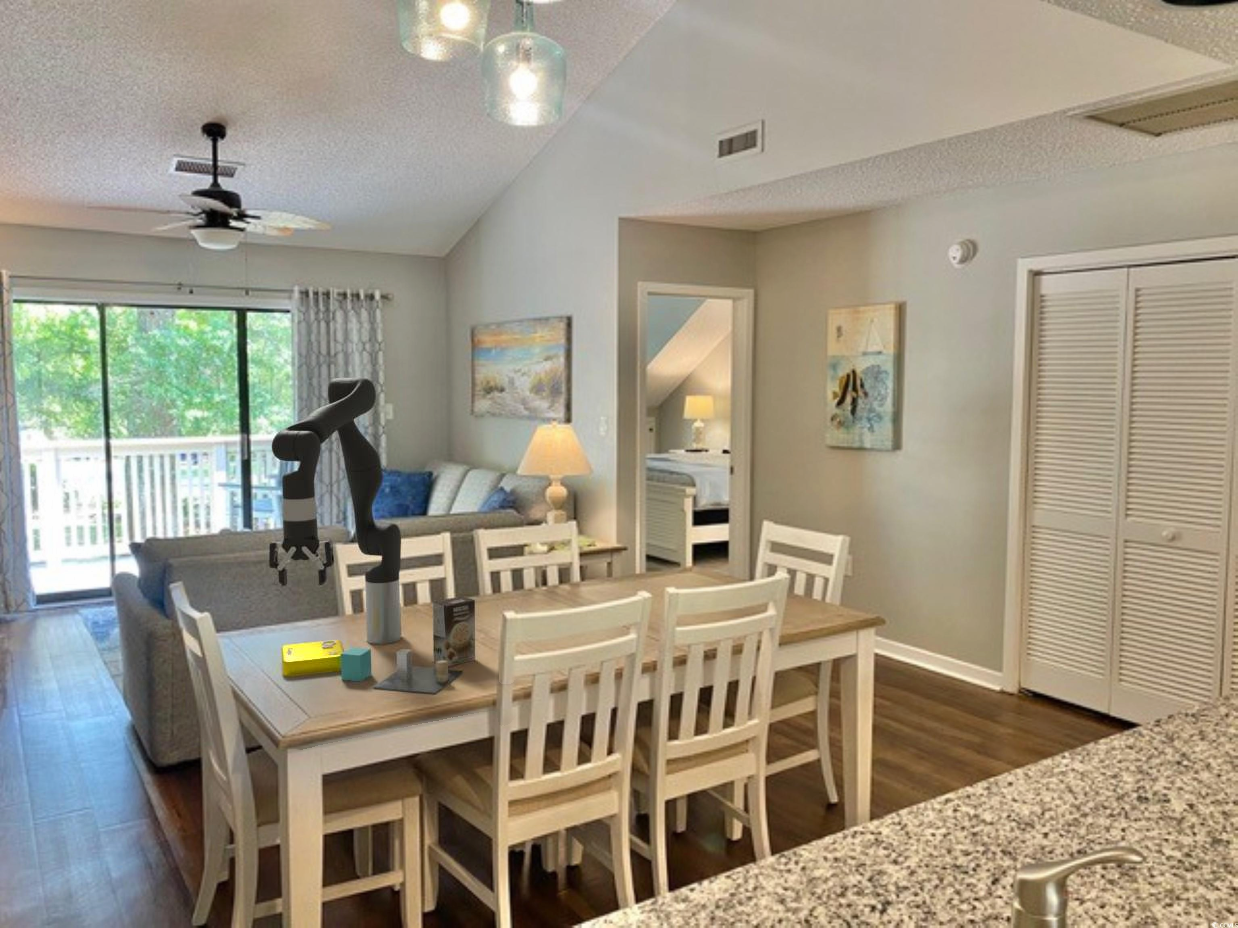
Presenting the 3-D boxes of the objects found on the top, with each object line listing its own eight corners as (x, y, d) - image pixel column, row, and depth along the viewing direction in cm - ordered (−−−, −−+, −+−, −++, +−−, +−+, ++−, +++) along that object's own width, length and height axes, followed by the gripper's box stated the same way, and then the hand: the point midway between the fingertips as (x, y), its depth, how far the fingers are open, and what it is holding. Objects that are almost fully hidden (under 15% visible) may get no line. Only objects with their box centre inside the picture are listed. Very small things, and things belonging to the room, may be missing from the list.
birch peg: (439, 679, 223) (439, 659, 223) (449, 680, 223) (449, 660, 222) (434, 683, 221) (433, 663, 220) (445, 684, 220) (444, 664, 220)
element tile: (281, 660, 239) (281, 643, 239) (341, 654, 245) (340, 637, 244) (282, 679, 225) (282, 660, 225) (345, 671, 231) (345, 653, 230)
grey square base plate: (405, 667, 233) (404, 640, 232) (463, 672, 229) (462, 645, 228) (373, 688, 218) (372, 659, 217) (435, 694, 214) (434, 665, 213)
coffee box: (446, 667, 233) (445, 606, 231) (432, 661, 237) (431, 601, 236) (476, 659, 239) (475, 599, 237) (462, 654, 244) (461, 595, 242)
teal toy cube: (352, 672, 228) (352, 647, 228) (371, 674, 227) (370, 648, 226) (341, 679, 223) (340, 653, 223) (360, 681, 222) (359, 655, 221)
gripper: (334, 513, 216) (337, 580, 218) (273, 514, 215) (276, 581, 217) (327, 519, 208) (330, 588, 210) (263, 520, 207) (266, 589, 209)
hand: (303, 584), depth 213 cm, fingers open, 8 cm apart
